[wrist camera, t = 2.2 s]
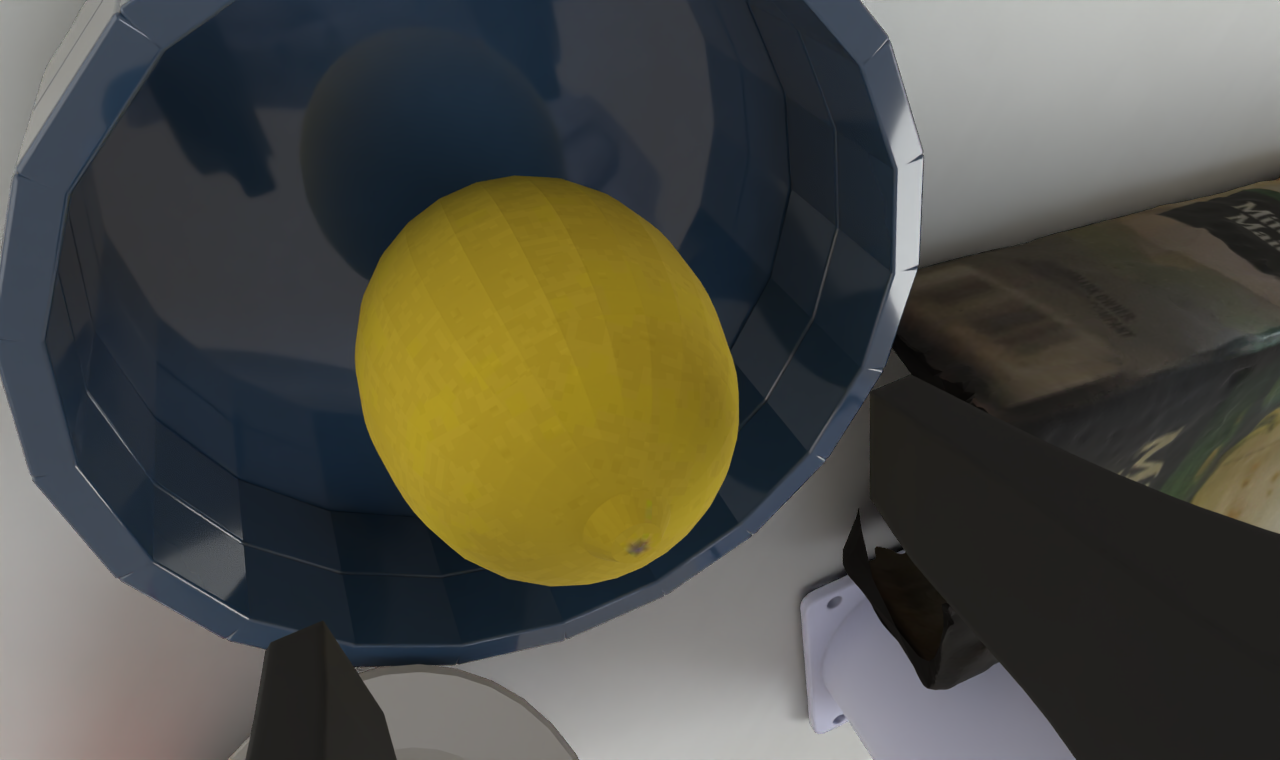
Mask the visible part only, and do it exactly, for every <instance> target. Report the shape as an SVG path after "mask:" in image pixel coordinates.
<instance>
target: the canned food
mask: <svg viewBox="0 0 1280 760" xmlns="http://www.w3.org/2000/svg"><path fill="white" fill-rule="evenodd" d="M359 676H360V677H361V679H362V680H363V682H364V683H365V685H366V686H367V688H368V689H369V691H370V692H371V694H372V696H373V697H374V699H375V700H376V702H377V703H378V705H379V706H380V708H381V709H382V711H383V712H384V715H385V719H386V722H387V726H388V730H389V733H390V737H391V740H392V744H393V747H394V751H395V754H396V758H397V760H579V759H578V757H577V755H576V753H575V752H574V751H573V750H572V748H571V747H570V746H569V745H568V743H567V742H566V741H565V739H564V738H563V737H562V736H561V734H560V733H559V732H558V731H557V729H556V728H555V727H554V725H553V724H552V723H551V722H550V721H548V720H547V719H546V718H545V717H544V716H543V715H542V714H540V713H539V712H538V711H537V710H536V709H535V708H534V707H533V706H531V705H530V704H529V703H528V702H527V701H526V700H525V699H523V698H521V697H520V696H518V695H516V694H514V693H513V692H511V691H509V690H508V689H506V688H504V687H502V686H501V685H499V684H497V683H496V682H494V681H492V680H489V679H486V678H483V677H480V676H477V675H474V674H471V673H468V672H465V671H462V670H459V669H455V668H447V667H439V666H430V665H422V664H416V665H403V666H391V667H380V668H376V669H373V670H369V671H366V672H362V673H359ZM249 740H250V736H249V737H248V738H247V740H246V741H245V742H244V743H243V744H242V745H241V746H240V747H239V748H238V749H237V750H236V751H235V752H234V753H233V754H232V755H231V756H230V757H229V759H228V760H245V758H246V754H247V749H248V744H249Z"/></svg>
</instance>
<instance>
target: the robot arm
mask: <svg viewBox="0 0 1280 760" xmlns="http://www.w3.org/2000/svg"><path fill="white" fill-rule="evenodd" d="M870 499H871V500H872V502H873V503H874V505H875V506H876V508H877V509H878V511H879V513H880V514H881V516H882V517H883V519H884V520H885V522H886V523H887V525H888V526H889V528H890V530H891V531H892V533H893V534H894V536H895V537H896V538H897V540H898V541H899V543H900V544H901V546H902V547H903V550H901V551H899V552H897V553H898V554H904V553H905V552H906V553H907V554H908V556H909V557H910V559H911V560H912V561H913V563H914V564H915V565H916V566H917V567H918V569H919V570H920V571H921V572H922V573H923V575H924V576H925V577H926V578H927V579H928V580H929V582H930V583H931V584H932V585H933V586H934V587H935V589H936V590H937V591H938V592H939V593H940V594H941V596H942V597H943V598H944V599H945V600H946V601H947V603H948V604H949V605H950V606H951V607H952V608H953V610H954V611H955V612H956V613H957V614H958V615H959V616H960V618H961V619H962V620H963V621H964V622H965V623H966V624H967V626H968V627H969V628H970V629H971V630H972V631H973V633H974V634H975V635H976V636H977V637H978V638H979V639H980V641H981V642H982V643H983V644H984V645H985V646H986V647H987V649H988V650H989V651H990V652H991V653H992V654H993V655H994V657H995V658H996V659H997V660H998V661H999V663H996V664H994V665H993V666H991V667H990V668H989V669H988V670H986V671H985V672H983V673H981V674H979V675H977V676H975V677H973V678H970V679H968V680H966V681H964V682H962V683H959V684H957V685H956V686H954V687H952V688H950V689H947V690H931V689H927V688H926V687H924V686H923V684H922V683H921V681H920V679H919V677H918V675H917V673H916V671H915V669H914V667H913V665H912V663H911V662H910V660H909V659H908V657H907V655H906V654H905V652H904V650H903V649H902V647H901V646H900V644H899V642H898V641H897V640H896V639H895V638H894V637H893V636H892V635H891V634H890V632H889V631H888V630H887V629H886V628H885V627H884V626H883V624H882V623H881V621H880V620H879V618H878V616H877V615H876V613H875V611H874V610H873V607H872V605H871V603H870V602H869V600H868V599H867V598H866V596H865V595H864V593H863V592H862V591H861V590H860V588H859V587H858V586H857V585H856V584H855V583H854V582H853V581H852V579H851V578H850V577H849V576H848V575H846V576H844V577H842V578H840V579H838V580H835V581H833V582H831V583H829V584H827V585H824V586H822V587H820V588H818V589H816V590H813V591H812V592H810V593H808V594H807V595H806V596H805V597H804V599H803V600H802V602H801V606H800V609H801V622H802V634H803V647H804V659H805V672H806V685H807V697H808V710H809V722H810V725H811V727H812V728H813V730H814V732H815V733H818V734H821V733H825V732H828V731H830V730H832V729H834V728H836V727H838V726H840V725H842V724H844V723H846V722H848V721H849V723H850V724H851V726H852V727H853V729H854V731H855V732H856V734H857V735H858V737H859V738H860V740H861V741H862V743H863V744H864V746H865V748H866V749H867V751H868V752H869V754H870V755H871V757H872V758H873V760H1280V534H1279V533H1276V532H1272V531H1269V530H1266V529H1263V528H1260V527H1257V526H1254V525H1251V524H1248V523H1246V522H1243V521H1240V520H1237V519H1234V518H1231V517H1228V516H1225V515H1222V514H1219V513H1216V512H1213V511H1211V510H1208V509H1205V508H1202V507H1199V506H1197V505H1194V504H1191V503H1189V502H1186V501H1183V500H1181V499H1178V498H1175V497H1173V496H1170V495H1168V494H1165V493H1163V492H1160V491H1158V490H1155V489H1153V488H1150V487H1148V486H1146V485H1143V484H1141V483H1138V482H1136V481H1133V480H1131V479H1129V478H1126V477H1124V476H1121V475H1119V474H1116V473H1114V472H1112V471H1109V470H1107V469H1105V468H1103V467H1100V466H1098V465H1096V464H1094V463H1091V462H1089V461H1087V460H1085V459H1082V458H1080V457H1078V456H1076V455H1074V454H1071V453H1069V452H1067V451H1065V450H1063V449H1061V448H1058V447H1056V446H1054V445H1052V444H1050V443H1048V442H1046V441H1044V440H1041V439H1039V438H1037V437H1035V436H1033V435H1031V434H1029V433H1027V432H1025V431H1023V430H1021V429H1019V428H1017V427H1015V426H1013V425H1011V424H1009V423H1007V422H1005V421H1003V420H1001V419H999V418H997V417H994V416H992V415H990V414H988V413H986V412H984V411H982V410H980V409H978V408H977V407H975V406H973V405H971V404H969V403H967V402H965V401H963V400H961V399H959V398H957V397H955V396H953V395H951V394H949V393H947V392H945V391H943V390H941V389H939V388H937V387H935V386H933V385H931V384H929V383H927V382H925V381H923V380H921V379H919V378H917V377H914V376H912V375H909V376H907V377H904V378H902V379H900V380H897V381H895V382H892V383H890V384H888V385H885V386H883V387H880V388H878V389H876V390H873V391H871V392H870ZM245 760H397V758H396V754H395V751H394V747H393V744H392V740H391V737H390V733H389V730H388V726H387V722H386V719H385V715H384V712H383V711H382V709H381V708H380V706H379V705H378V703H377V702H376V700H375V699H374V697H373V696H372V694H371V692H370V691H369V689H368V688H367V686H366V685H365V683H364V682H363V680H362V679H361V677H360V676H359V674H358V673H357V671H356V670H355V668H354V667H353V665H352V663H351V662H350V660H349V659H348V657H347V656H346V654H345V653H344V651H343V650H342V648H341V647H340V645H339V644H338V642H337V641H336V639H335V638H334V636H333V634H332V633H331V631H330V630H329V628H328V627H327V625H326V624H325V622H324V621H320V622H318V623H316V624H313V625H311V626H308V627H306V628H304V629H301V630H299V631H296V632H294V633H292V634H289V635H287V636H284V637H282V638H280V639H277V640H275V641H272V642H271V643H270V644H269V646H268V648H267V650H266V651H265V656H264V662H263V669H262V675H261V681H260V687H259V693H258V699H257V704H256V710H255V715H254V720H253V725H252V730H251V735H250V740H249V744H248V749H247V754H246V758H245Z"/></svg>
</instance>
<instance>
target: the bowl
mask: <svg viewBox="0 0 1280 760" xmlns="http://www.w3.org/2000/svg"><path fill="white" fill-rule="evenodd" d="M923 171H924V155H923V148H922V145H921V141H920V138H919V135H918V131H917V128H916V125H915V121H914V118H913V115H912V111H911V108H910V105H909V101H908V98H907V95H906V91H905V88H904V84H903V81H902V78H901V74H900V71H899V68H898V64H897V61H896V58H895V54H894V51H893V48H892V44H891V41H890V40H889V37H888V35H887V33H886V32H885V31H884V30H883V28H882V27H881V26H880V25H879V23H878V22H877V21H876V19H875V18H874V17H873V16H872V14H871V13H870V12H869V11H868V9H867V8H866V7H865V6H864V4H863V3H862V2H861V1H860V0H86V2H85V3H84V5H83V6H82V8H81V9H80V11H79V13H78V15H77V17H76V19H75V21H74V23H73V25H72V27H71V28H70V30H69V32H68V33H67V35H66V36H65V38H64V40H63V41H62V43H61V44H60V46H59V48H58V49H57V51H56V52H55V54H54V56H53V57H52V59H51V60H50V62H49V64H48V65H47V67H46V69H45V73H44V76H43V77H42V80H41V84H40V87H39V90H38V94H37V97H36V100H35V103H34V107H33V110H32V113H31V116H30V120H29V123H28V126H27V129H26V133H25V136H24V139H23V143H22V146H21V149H20V152H19V156H18V159H17V162H16V165H15V169H14V172H13V175H12V180H11V186H10V193H9V200H8V207H7V214H6V220H5V227H4V234H3V241H2V247H1V254H0V378H1V381H2V384H3V388H4V391H5V394H6V398H7V401H8V404H9V408H10V411H11V414H12V418H13V421H14V424H15V427H16V431H17V434H18V437H19V441H20V444H21V447H22V451H23V454H24V457H25V461H26V464H27V467H28V471H29V473H30V475H31V476H32V481H33V482H34V483H35V484H36V486H37V487H38V488H39V489H40V490H41V491H42V493H43V494H44V495H45V496H46V497H47V498H48V500H49V501H50V502H51V503H52V504H53V505H54V507H55V508H56V509H57V510H58V511H59V512H60V514H61V515H62V516H63V517H64V518H65V519H66V521H67V522H68V523H69V524H70V525H71V526H72V528H73V529H74V530H75V531H76V532H77V533H78V535H79V536H80V537H81V538H82V539H83V540H84V542H85V543H86V544H87V545H88V546H89V548H90V549H91V550H92V551H93V552H94V553H95V555H96V556H97V557H98V558H99V559H100V560H101V562H102V563H103V564H104V565H105V566H106V567H107V569H108V570H109V571H110V572H111V573H112V574H113V576H114V577H115V578H119V579H120V580H121V582H123V583H125V584H127V585H129V586H130V587H132V588H134V589H136V590H137V591H139V592H141V593H143V594H145V595H146V596H148V597H150V598H152V599H153V600H155V601H157V602H159V603H161V604H162V605H164V606H166V607H168V608H169V609H171V610H173V611H175V612H177V613H178V614H180V615H182V616H184V617H185V618H187V619H189V620H191V621H193V622H194V623H196V624H198V625H200V626H201V627H203V628H205V629H207V630H209V631H210V632H212V633H214V634H216V635H217V636H219V637H221V638H223V639H226V638H227V640H228V641H231V642H235V643H240V644H244V645H249V646H253V647H257V648H262V649H266V650H267V648H268V646H269V644H270V643H271V642H272V641H275V640H277V639H280V638H282V637H284V636H287V635H289V634H292V633H294V632H296V631H299V630H301V629H304V628H306V627H308V626H311V625H313V624H316V623H318V622H320V621H324V622H325V624H326V625H327V627H328V628H329V630H330V631H331V633H332V634H333V636H334V638H335V639H336V641H337V642H338V644H339V645H340V647H341V648H342V650H343V651H344V653H345V654H346V656H347V657H348V659H349V660H350V662H351V663H352V665H353V667H381V666H403V665H416V664H422V665H430V666H448V665H456V664H458V665H460V664H465V663H469V662H474V661H478V660H482V659H487V658H491V657H495V656H500V655H504V654H509V653H513V652H517V651H522V650H526V649H531V648H535V647H539V646H544V645H548V644H553V643H557V642H561V641H564V640H565V638H566V639H570V638H572V637H574V636H576V635H579V634H581V633H583V632H585V631H588V630H590V629H592V628H594V627H597V626H599V625H601V624H603V623H606V622H608V621H610V620H613V619H615V618H617V617H619V616H622V615H624V614H626V613H628V612H631V611H633V610H635V609H637V608H640V607H642V606H644V605H646V604H649V603H651V602H653V601H656V600H658V599H660V598H662V597H663V596H664V595H667V594H669V593H671V592H672V591H673V590H675V589H676V588H678V587H679V586H681V585H682V584H684V583H685V582H686V581H688V580H689V579H691V578H692V577H694V576H695V575H697V574H698V573H700V572H701V571H702V570H704V569H705V568H707V567H708V566H710V565H711V564H713V563H714V562H715V561H717V560H718V559H720V558H721V557H723V556H724V555H726V554H727V553H728V552H730V551H731V550H733V549H734V548H736V547H737V546H739V545H740V544H742V543H743V542H744V541H746V540H747V539H749V538H750V537H751V536H752V534H755V533H756V532H757V531H758V530H759V529H760V528H761V527H762V526H763V525H764V524H765V523H766V522H767V521H768V520H769V519H770V518H771V517H772V516H773V515H774V514H775V513H776V512H777V511H778V510H779V509H780V508H781V506H782V505H783V504H784V503H785V502H786V501H787V500H788V499H789V498H790V497H791V496H792V495H793V494H794V493H795V492H796V491H797V490H798V489H799V488H800V487H801V486H802V485H803V484H804V483H805V482H806V481H807V480H808V479H809V478H810V477H811V476H812V475H813V474H814V473H815V472H816V471H817V470H818V469H819V468H820V467H821V466H822V465H823V463H824V462H825V461H826V458H828V457H829V456H830V455H831V453H832V451H833V450H834V448H835V447H836V445H837V444H838V442H839V440H840V439H841V437H842V436H843V434H844V433H845V431H846V429H847V428H848V426H849V425H850V423H851V421H852V420H853V418H854V417H855V415H856V414H857V412H858V410H859V409H860V407H861V406H862V404H863V402H864V401H865V399H866V398H867V396H868V395H869V393H870V391H871V390H872V388H873V387H874V385H875V383H876V382H877V380H878V379H879V377H880V376H881V374H882V372H883V368H884V367H885V366H886V363H887V360H888V357H889V354H890V351H891V349H892V346H893V343H894V340H895V337H896V334H897V331H898V328H899V325H900V322H901V319H902V316H903V313H904V310H905V307H906V304H907V301H908V298H909V295H910V292H911V289H912V286H913V283H914V280H915V277H916V274H917V271H918V265H919V263H920V241H921V218H922V195H923ZM514 175H515V176H533V177H550V178H561V179H564V180H567V181H570V182H573V183H576V184H579V185H582V186H585V187H588V188H591V189H594V190H597V191H600V192H603V193H605V194H608V195H609V196H611V197H613V198H614V199H616V200H618V201H619V202H621V203H622V204H623V205H625V206H626V207H628V208H629V209H631V210H632V211H633V212H635V213H636V214H638V215H639V216H641V217H642V218H644V219H645V220H646V221H648V222H649V223H650V224H652V225H653V226H654V227H655V228H657V229H658V230H659V231H660V232H661V233H662V234H663V235H664V236H665V237H666V238H667V239H668V240H669V241H670V242H671V244H672V245H673V246H674V248H675V249H676V250H677V252H678V253H679V254H680V255H681V257H682V258H683V259H684V261H685V262H686V263H687V264H688V266H689V267H690V268H691V270H692V271H693V272H694V274H695V275H696V276H697V278H698V279H699V280H700V282H701V283H702V285H703V287H704V288H705V290H706V292H707V294H708V295H709V297H710V299H711V302H712V304H713V306H714V308H715V310H716V313H717V316H718V318H719V321H720V324H721V327H722V330H723V332H724V335H725V338H726V341H727V344H728V347H729V350H730V353H731V355H732V358H733V362H734V366H735V370H736V374H737V382H738V392H739V426H738V434H737V440H736V444H735V448H734V452H733V455H732V459H731V463H730V466H729V469H728V472H727V474H726V477H725V479H724V482H723V483H722V485H721V487H720V489H719V491H718V493H717V495H716V496H715V498H714V500H713V502H712V504H711V506H710V507H709V508H708V510H707V511H706V512H705V514H704V515H703V516H702V517H701V519H700V520H699V521H698V522H697V523H696V525H695V526H694V527H693V528H692V529H691V531H690V532H689V533H688V534H687V535H686V536H685V537H684V538H683V539H682V540H680V541H679V542H678V543H677V544H676V545H675V546H673V547H672V548H671V549H670V550H669V551H668V552H666V553H665V554H663V555H662V556H660V557H659V558H657V559H655V560H654V561H652V562H650V563H649V564H647V565H646V566H644V567H642V568H640V569H637V570H635V571H633V572H630V573H628V574H625V575H623V576H620V577H618V578H615V579H610V580H606V581H602V582H597V583H593V584H587V585H570V586H545V585H540V584H534V583H528V582H522V581H517V580H512V579H507V578H505V577H503V576H500V575H498V574H496V573H494V572H492V571H489V570H487V569H485V568H483V567H481V566H479V565H477V564H475V563H473V562H470V561H468V560H466V559H464V558H463V557H462V556H461V555H459V554H458V553H457V552H456V551H454V550H453V549H452V548H451V547H450V546H448V545H447V544H446V543H445V542H444V541H443V540H442V539H441V538H439V537H438V536H437V535H436V534H435V533H434V532H433V531H432V530H431V529H429V528H428V527H427V526H426V525H425V524H424V523H423V522H422V520H421V519H420V518H419V517H418V516H417V515H416V514H415V513H414V511H413V510H412V509H411V507H410V506H409V505H408V503H407V502H406V501H405V499H404V498H403V496H402V495H401V493H400V492H399V490H398V488H397V487H396V485H395V483H394V481H393V480H392V478H391V476H390V474H389V472H388V471H387V469H386V467H385V465H384V463H383V461H382V460H381V458H380V456H379V454H378V452H377V450H376V448H375V446H374V444H373V442H372V440H371V438H370V435H369V432H368V429H367V427H366V424H365V420H364V415H363V410H362V405H361V399H360V393H359V387H358V381H357V376H356V368H355V345H356V337H357V329H358V322H359V315H360V308H361V303H362V299H363V295H364V293H365V291H366V288H367V286H368V284H369V282H370V279H371V277H372V275H373V273H374V271H375V268H376V266H377V264H378V262H379V259H380V258H381V256H382V254H383V253H384V251H385V250H386V249H387V248H388V246H389V245H390V244H391V243H392V242H393V240H394V239H395V238H396V237H397V235H398V234H399V233H400V232H401V231H402V229H403V228H404V227H405V226H406V224H407V223H408V222H409V221H411V220H412V219H413V218H415V217H416V216H417V215H419V214H420V213H421V212H423V211H424V210H425V209H427V208H428V207H429V206H430V205H432V204H433V203H434V202H436V201H437V200H438V199H440V198H442V197H444V196H447V195H449V194H451V193H453V192H456V191H458V190H460V189H462V188H465V187H467V186H469V185H471V184H474V183H476V182H481V181H487V180H492V179H498V178H503V177H509V176H514Z"/></svg>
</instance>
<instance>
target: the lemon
mask: <svg viewBox="0 0 1280 760" xmlns="http://www.w3.org/2000/svg"><path fill="white" fill-rule="evenodd" d="M355 368H356V376H357V381H358V387H359V393H360V399H361V405H362V410H363V415H364V420H365V424H366V427H367V429H368V432H369V435H370V438H371V440H372V442H373V444H374V446H375V448H376V450H377V452H378V454H379V456H380V458H381V460H382V461H383V463H384V465H385V467H386V469H387V471H388V472H389V474H390V476H391V478H392V480H393V481H394V483H395V485H396V487H397V488H398V490H399V492H400V493H401V495H402V496H403V498H404V499H405V501H406V502H407V503H408V505H409V506H410V507H411V509H412V510H413V511H414V513H415V514H416V515H417V516H418V517H419V518H420V519H421V520H422V522H423V523H424V524H425V525H426V526H427V527H428V528H429V529H431V530H432V531H433V532H434V533H435V534H436V535H437V536H438V537H439V538H441V539H442V540H443V541H444V542H445V543H446V544H447V545H448V546H450V547H451V548H452V549H453V550H454V551H456V552H457V553H458V554H459V555H461V556H462V557H463V558H464V559H466V560H468V561H470V562H473V563H475V564H477V565H479V566H481V567H483V568H485V569H487V570H489V571H492V572H494V573H496V574H498V575H500V576H503V577H505V578H507V579H512V580H517V581H522V582H528V583H534V584H540V585H545V586H570V585H587V584H593V583H597V582H602V581H606V580H610V579H615V578H618V577H620V576H623V575H625V574H628V573H630V572H633V571H635V570H637V569H640V568H642V567H644V566H646V565H647V564H649V563H650V562H652V561H654V560H655V559H657V558H659V557H660V556H662V555H663V554H665V553H666V552H668V551H669V550H670V549H671V548H672V547H673V546H675V545H676V544H677V543H678V542H679V541H680V540H682V539H683V538H684V537H685V536H686V535H687V534H688V533H689V532H690V531H691V529H692V528H693V527H694V526H695V525H696V523H697V522H698V521H699V520H700V519H701V517H702V516H703V515H704V514H705V512H706V511H707V510H708V508H709V507H710V506H711V504H712V502H713V500H714V498H715V496H716V495H717V493H718V491H719V489H720V487H721V485H722V483H723V482H724V479H725V477H726V474H727V472H728V469H729V466H730V463H731V459H732V455H733V452H734V448H735V444H736V440H737V434H738V426H739V392H738V382H737V374H736V370H735V366H734V362H733V358H732V355H731V353H730V350H729V347H728V344H727V341H726V338H725V335H724V332H723V330H722V327H721V324H720V321H719V318H718V316H717V313H716V310H715V308H714V306H713V304H712V302H711V299H710V297H709V295H708V294H707V292H706V290H705V288H704V287H703V285H702V283H701V282H700V280H699V279H698V278H697V276H696V275H695V274H694V272H693V271H692V270H691V268H690V267H689V266H688V264H687V263H686V262H685V261H684V259H683V258H682V257H681V255H680V254H679V253H678V252H677V250H676V249H675V248H674V246H673V245H672V244H671V242H670V241H669V240H668V239H667V238H666V237H665V236H664V235H663V234H662V233H661V232H660V231H659V230H658V229H657V228H655V227H654V226H653V225H652V224H650V223H649V222H648V221H646V220H645V219H644V218H642V217H641V216H639V215H638V214H636V213H635V212H633V211H632V210H631V209H629V208H628V207H626V206H625V205H623V204H622V203H621V202H619V201H618V200H616V199H614V198H613V197H611V196H609V195H608V194H605V193H603V192H600V191H597V190H594V189H591V188H588V187H585V186H582V185H579V184H576V183H573V182H570V181H567V180H564V179H561V178H550V177H533V176H515V175H514V176H509V177H503V178H498V179H492V180H487V181H481V182H476V183H474V184H471V185H469V186H467V187H465V188H462V189H460V190H458V191H456V192H453V193H451V194H449V195H447V196H444V197H442V198H440V199H438V200H437V201H436V202H434V203H433V204H432V205H430V206H429V207H428V208H427V209H425V210H424V211H423V212H421V213H420V214H419V215H417V216H416V217H415V218H413V219H412V220H411V221H409V222H408V223H407V224H406V226H405V227H404V228H403V229H402V231H401V232H400V233H399V234H398V235H397V237H396V238H395V239H394V240H393V242H392V243H391V244H390V245H389V246H388V248H387V249H386V250H385V251H384V253H383V254H382V256H381V258H380V259H379V262H378V264H377V266H376V268H375V271H374V273H373V275H372V277H371V279H370V282H369V284H368V286H367V288H366V291H365V293H364V295H363V299H362V303H361V308H360V315H359V322H358V329H357V337H356V345H355Z"/></svg>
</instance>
